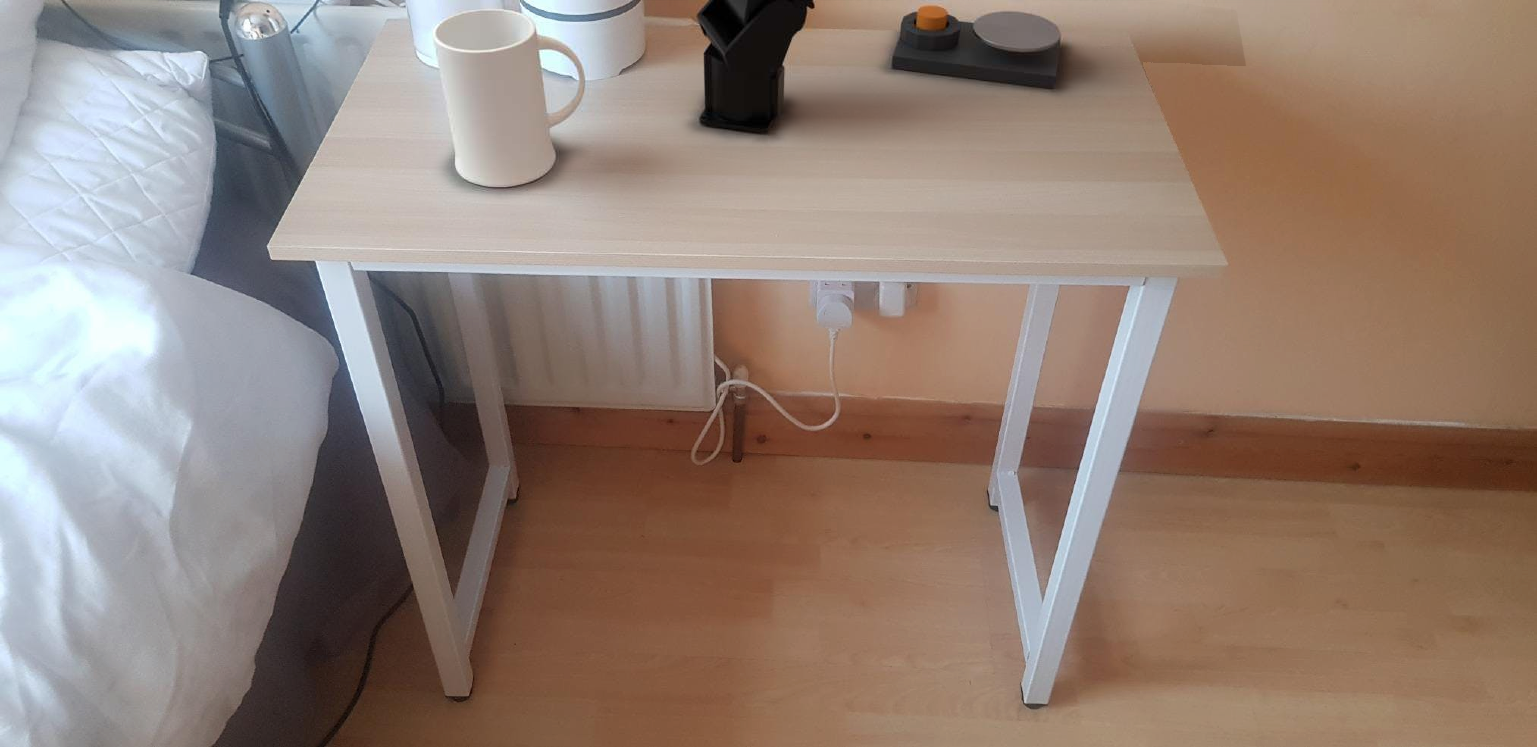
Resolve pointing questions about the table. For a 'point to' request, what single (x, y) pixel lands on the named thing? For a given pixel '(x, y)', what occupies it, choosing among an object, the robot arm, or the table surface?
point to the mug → (499, 95)
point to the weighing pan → (1016, 31)
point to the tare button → (931, 18)
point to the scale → (970, 55)
